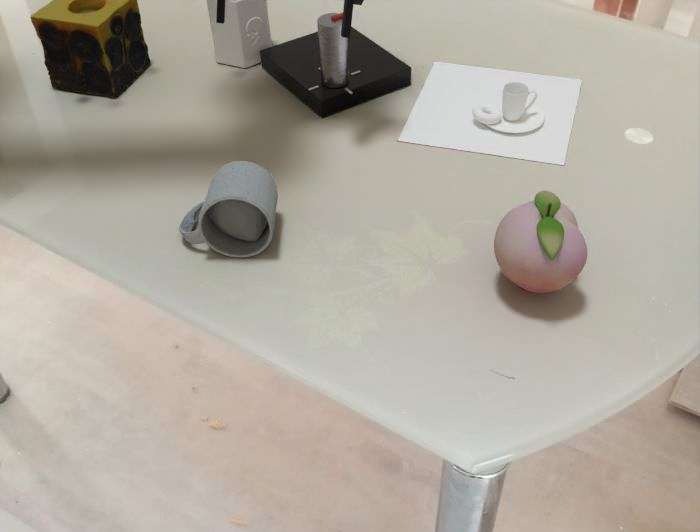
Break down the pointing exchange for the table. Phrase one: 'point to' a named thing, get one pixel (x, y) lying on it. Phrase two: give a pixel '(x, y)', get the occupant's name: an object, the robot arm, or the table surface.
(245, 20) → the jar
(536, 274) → the decorative fruit
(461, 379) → the table surface
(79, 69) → the candle
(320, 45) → the silver cylinder
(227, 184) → the ceramic mug
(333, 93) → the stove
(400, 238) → the table surface
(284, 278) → the table surface
